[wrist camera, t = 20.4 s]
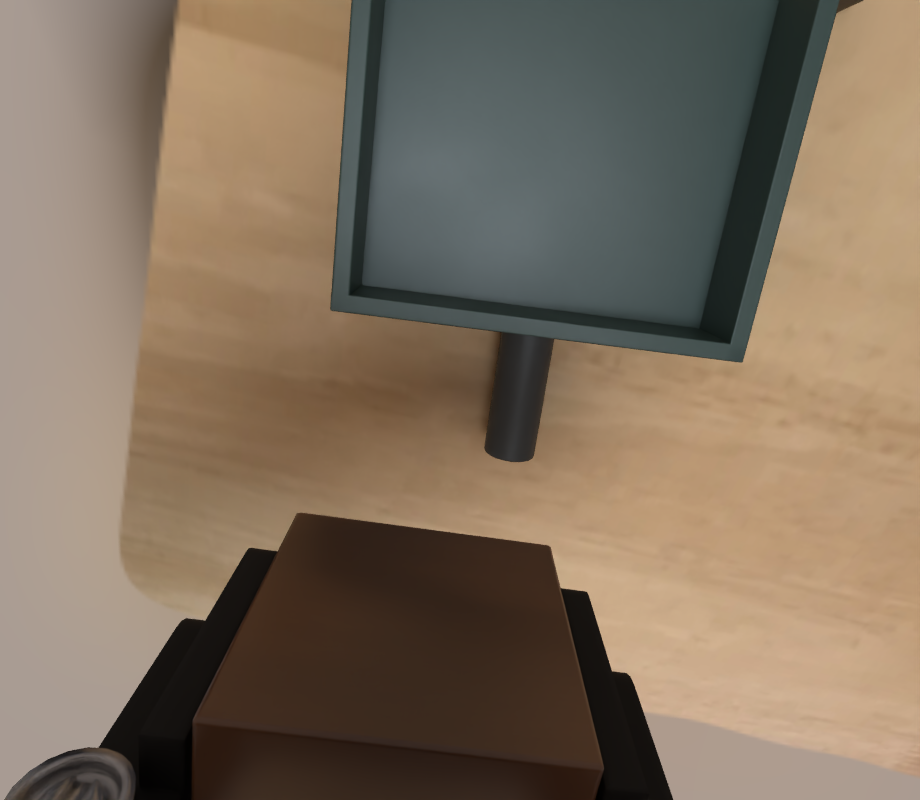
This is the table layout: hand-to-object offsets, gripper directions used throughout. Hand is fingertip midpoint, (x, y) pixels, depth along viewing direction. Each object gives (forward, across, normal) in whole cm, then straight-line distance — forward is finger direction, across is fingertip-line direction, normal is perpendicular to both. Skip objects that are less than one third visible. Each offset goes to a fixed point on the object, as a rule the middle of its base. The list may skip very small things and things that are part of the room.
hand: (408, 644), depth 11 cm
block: (0, 0, 0) cm, 0 cm away
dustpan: (+12, -3, -7) cm, 14 cm away
